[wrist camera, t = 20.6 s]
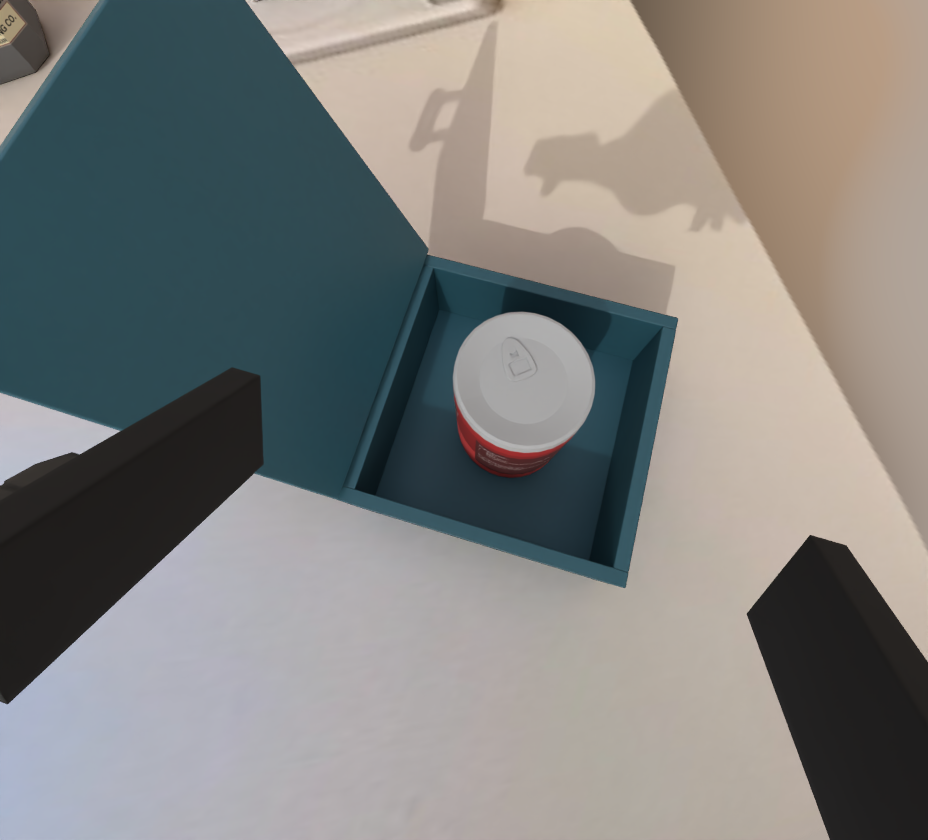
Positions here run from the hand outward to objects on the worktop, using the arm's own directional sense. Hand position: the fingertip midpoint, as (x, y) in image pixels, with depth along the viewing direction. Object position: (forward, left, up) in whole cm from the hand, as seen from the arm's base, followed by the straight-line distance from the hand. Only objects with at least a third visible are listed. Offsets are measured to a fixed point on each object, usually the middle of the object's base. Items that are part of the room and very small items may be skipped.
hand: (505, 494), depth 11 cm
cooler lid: (+15, +2, -8) cm, 17 cm away
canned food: (+5, -6, -23) cm, 24 cm away
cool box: (+5, -6, -24) cm, 25 cm away
